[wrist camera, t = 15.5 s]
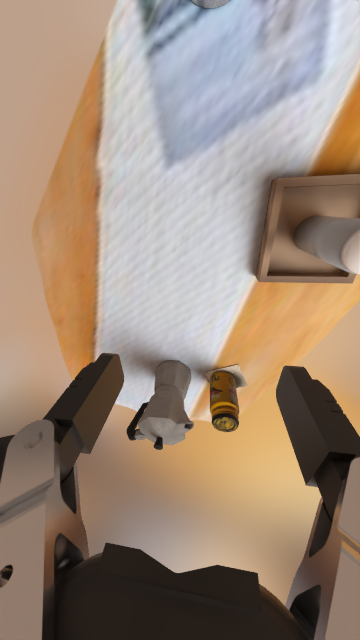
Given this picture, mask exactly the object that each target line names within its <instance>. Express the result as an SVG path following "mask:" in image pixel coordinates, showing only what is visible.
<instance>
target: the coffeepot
mask: <svg viewBox="0 0 360 640" xmlns="http://www.w3.org/2000/svg"><path fill="white" fill-rule="evenodd" d="M190 381H191V373H190V369H189V368H188V367H187V366H186V365H184V364H183V363H181V362H178V361H165V362H163V363H162V364H161V365H160V366H159V367H158V368H156V378H155V388H154V389H155V394H154V395H153V396H152V397H151V399H150V401H149V402H147V403H143V404H142V406H141V407H140V409H139V410H138V412H137V414H136V415H135V417H134V419H133V420H132V422H131V423H130V425H129V426H128V428H127V435H128V437H129V439H130V440H136V439H138V440H142V439H145V438H147V439H149V440H151V441H152V442H154V443H155V444H154V448H155V449H158V450H161V449H163V444H168V445H174V444H176V443H178V442H180V441H182V440H184V439H185V433H186V432H188V431H189V430H190V429H192V428H193V425H194V423H193V422H192V421H190V420H189V418H188V416H187V414H186V412H185V410H184V399H185V396H186V393H187V390H188V387H189V384H190ZM145 408H146V409H145ZM144 410H145V411H144ZM140 418H141V419H140ZM139 420H140V421H139ZM138 422H139V423H138ZM137 424H138V426H139V429H136V430H135V428H136V427H137Z"/></svg>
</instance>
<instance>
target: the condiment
mask: <svg viewBox="0 0 360 640" xmlns="http://www.w3.org/2000/svg"><path fill="white" fill-rule="evenodd" d="M232 372H233V373H232ZM205 375H206V377H207V378H208V380H209V382H210V412H211V414H212V424H213V426H214V428H216V429H218V430H219V431H223V432H231V431H234V430H236V428H237V427H238V425H239V421H238V414H239V406H238V399H237V392H236V388H238V387H244V386H247V384H246V381H245V379H244V377H243V374H242V372H241V370H240V368H239V365H234V366H230V367H226V368H221V369H217V370H212V371H208V372H205Z"/></svg>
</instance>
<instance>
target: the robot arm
mask: <svg viewBox="0 0 360 640" xmlns="http://www.w3.org/2000/svg"><path fill="white" fill-rule="evenodd" d="M191 1H193V2H194V3H195V4H196V5H198V6H201V7H203V8H217V7H220V6H223V5H225V4H226V3H227V2H229V1H230V0H191ZM123 383H124V374H123V370H122V366H121V362H120V358H119V355H118V354H110V353H102V354H101V355H100V356H99V357H98V359H97V360H96V361H95V363H90V364H89V365H87V366H86V367H85V368H83V369H82V370H81V371H80V372H79V374H78V375H77V376H76V378H75V380H73V381H72V383H71V384H70V385H69V387H68V388H67V389H66V390H65V392H64V393H63V394H62V395H61V397H60V398H59V399H58V400H57V402H56V403H55V404H54V406H53V407H52V408H51V410H50V411H49V412H48V413H47V415H46V416H45V417H44V418H43V419H42V420H37V421H35V422H32V423H30V424H28V425H26V426H25V427H23V428H22V429H21V430H20V431H19V432H17V433H16V434H15V435H11V436H6V437H1V438H0V640H360V437H359V435H358V434H357V432H356V431H355V429H354V427H353V426H352V424H351V423H350V421H349V420H348V418H347V417H346V415H345V414H343V410H342V409H341V407H340V406H339V404H337V401H336V400H335V398H334V397H333V395H332V394H331V392H330V390H329V389H327V388H326V387H325V386H324V385H323V384H322V383H321V382H320V381H318V380H313V379H312V378H311V377H310V375H309V373H308V372H307V370H306V369H305V368H304V367H297V366H284V367H283V370H282V373H281V376H280V379H279V382H278V385H277V389H276V398H277V402H278V405H279V408H280V411H281V414H282V417H283V420H284V423H285V425H286V428H287V431H288V434H289V437H290V440H291V443H292V446H293V449H294V452H295V455H296V458H297V460H298V463H299V466H300V469H301V472H302V475H303V478H304V481H305V483H306V485H307V486H314V487H318V488H319V491H320V493H321V496H322V498H321V499H320V502H319V505H318V509H317V512H316V516H315V519H314V523H313V526H312V530H311V533H310V537H309V540H308V544H307V548H306V551H305V554H304V557H303V560H302V562H301V564H300V566H299V568H298V570H297V572H296V574H295V577H294V579H293V582H292V585H291V588H290V592H289V595H288V599H287V602H286V605H285V606H284V605H283V604H282V603H281V602H280V600H279V599H278V598H277V597H276V596H274V595H273V594H272V593H270V592H269V591H268V590H267V589H266V588H265V587H263V586H261V585H260V584H259V581H258V574H257V573H255V572H250V571H244V570H240V569H235V568H230V567H225V566H220V565H215V566H210V567H206V568H201V569H197V570H192V571H188V572H183V573H175V572H173V571H171V570H170V569H168V568H167V567H165V566H163V565H162V564H161V563H159V562H158V561H156V560H155V559H153V558H152V557H150V556H149V555H147V554H146V553H144V552H143V551H142V550H140V549H135V548H130V547H125V546H120V545H115V544H110V543H106V544H105V547H104V550H103V552H102V553H99V554H96V555H94V556H92V557H89V548H88V541H87V534H86V530H85V526H84V524H83V521H82V516H81V507H80V495H79V485H78V473H77V464H76V460H77V458H78V456H79V454H80V453H86V454H90V453H91V451H92V449H93V446H94V444H95V442H96V440H97V438H98V436H99V434H100V432H101V430H102V428H103V426H104V424H105V422H106V420H107V418H108V415H109V414H110V411H111V409H112V407H113V405H114V403H115V401H116V399H117V397H118V395H119V393H120V391H121V389H122V386H123Z"/></svg>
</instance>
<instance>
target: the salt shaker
mask: <svg viewBox="0 0 360 640" xmlns="http://www.w3.org/2000/svg"><path fill="white" fill-rule="evenodd" d="M294 243H295V245H296V247H297V248H298V249H300V250H302V251H304V252H306V253H308V254H310V255H312V256H314V257H317V258H319V259H321V260H323V261H325V262H327V263H329V264H332V265H334V266H336V267H338V268H340V269H342V270H344V271H347V272H349V273H355V274H360V219H358V218H345V217H332V216H318V215H316V216H311V217H309V218H307V219H305V220H304V221H303V222H301V223H300V225H299V226H298V227H297V229H296V231H295V233H294Z"/></svg>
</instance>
